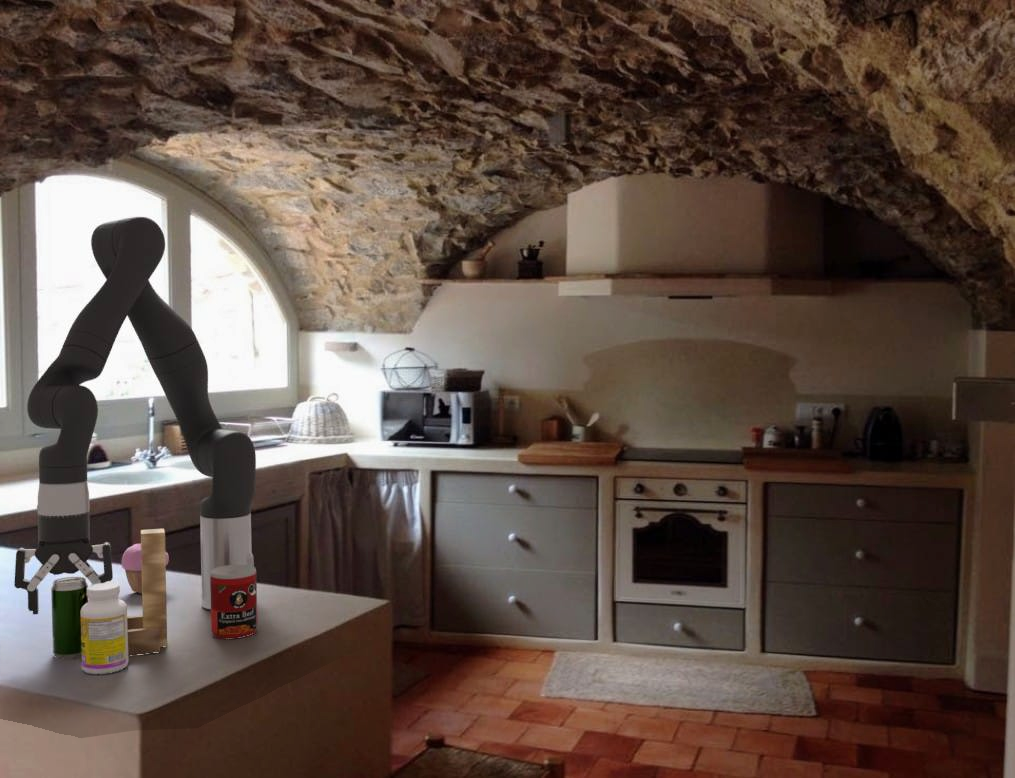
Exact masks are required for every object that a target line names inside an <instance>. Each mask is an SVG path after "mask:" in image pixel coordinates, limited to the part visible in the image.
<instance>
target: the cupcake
mask: <svg viewBox="0 0 1015 778" xmlns="http://www.w3.org/2000/svg"><path fill="white" fill-rule="evenodd" d="M169 557H170V556H169V553H168V552H167V551H166V550H165V558H166V566H167V565H168V563H169V561H170V559H169ZM121 568H122V569H123V570H124V572H125V576H126V579H127V582H128V584H129V587H130V589H131V591H132V592H134V593H138V594H141V595H142V564H141V542H140V543H135V544H132V546H129V547H128V548H126V549H125V551H124V553H123V555H122V557H121Z"/></svg>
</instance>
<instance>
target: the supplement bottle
mask: <svg viewBox="0 0 1015 778" xmlns="http://www.w3.org/2000/svg"><path fill="white" fill-rule="evenodd" d="M120 589H121V588H120V584H119V583H117V582H105V583H99V584H94V585H92V584H91V585H88V587H87V596H88V603H86V604H85V605H83V607H82V608H81V612H80V614H81V649H82V656H81V667H82V670H83V671H84V673H87V674H89V675H97V674H99V675H106V674H105V673H109V674H112V673H111V672H114V673H116V672H115V671H117V672H120V671H122V670H124V669H125V668H126V667H127V666H128V665H129V657H128V628H127V616H128V605H127V603H126V602H125V601H124V600H123V599H121V598H119V595H120V592H121V591H120ZM123 668H124V669H123ZM119 670H120V671H119Z"/></svg>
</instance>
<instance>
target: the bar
mask: <svg viewBox="0 0 1015 778" xmlns="http://www.w3.org/2000/svg"><path fill="white" fill-rule="evenodd" d="M140 543H141V564H142V594H141V596H142V597H141V599H142V601H141V603H142V608H141V609H142V615H143V628H150V627H159V639H160V647H163V646H167V647H168V615H167V613H168V612H167V610H168V609H167V605H168V604H167V568H166V566H167V565H166V558H165V551H166V531H165V528H152V529H151V528H150V529H140ZM163 648H164V647H163Z"/></svg>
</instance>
